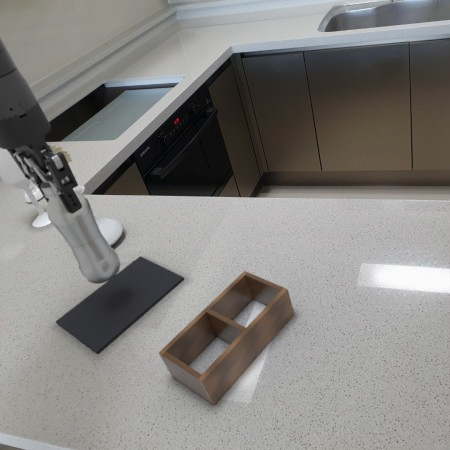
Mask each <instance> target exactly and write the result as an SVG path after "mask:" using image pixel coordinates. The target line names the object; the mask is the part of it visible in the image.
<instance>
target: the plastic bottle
mask: <svg viewBox="0 0 450 450" xmlns="http://www.w3.org/2000/svg"><path fill="white" fill-rule="evenodd" d="M54 182H55V181H54ZM62 183H65V182H64V181H63V179H62ZM40 187H41V189H42V191H43V192H44V195H45V197H46V198H49V202H48V203H47V208H46V212H47V214H48V219H49V220H50V221H51V224H52V225H53V226H54V228H55V229H56V230H57V231H58V232H59V234H60V235H61V236H62V237H63V239H64V240H65V241H66V244H68V246H69V248H70V249H71V251H72V253H73V255H74V257H75V260H76V262H77V265H78V268H79V270H80V273H81V275H82V276H83V278H85V280H86V281H87V282H89V283H92V284H96V285H97V284H105V283H106V282H107V281H109V280H110V279H112V278H113V277H114V276H115V275H116V274H118V273H119V272H120V267H121V261H120V257H119V255H118V254H117V252H116V251H115V250H114V248H113V247H112V246H110V245H109V244H108V242H107V241H106V239H105V238H104V236H103V235H102V233H101V231H100V229H99V227H98V225H97V223H96V221H95V218H94V216H95V215H94V213H93V209H92V207H91V206H92V205H91V204H90V202H89V200H88V198H87V197H86V196H85V195H84V196H83V195H82V194H80V193H78V192H76V191H74V192H75V194H76V195H77V197H78V199H79V201H80V202H81V204H82V208H81V209H80V210H78V211H76V212H75V213H73V214H71V213H69V212H67V210H66V208H65V207H64V205H63V203H62V202H61V200H60V198H59V197H58V195H57V193H56V192H55V190H54V189H53V188H52V187H51V185H50V184H49V183H44V182H43V183H42V184H41V186H40Z"/></svg>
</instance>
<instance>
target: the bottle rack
mask: <svg viewBox="0 0 450 450" xmlns="http://www.w3.org/2000/svg"><path fill="white" fill-rule="evenodd" d="M253 300H254V301H256V302H259V303H261V304H263V305H264V306H265V307H264V308H263V309H262V310H261V311H260V312H259V313H258V314H257V316H256V317H255V318H253V320H252V321H251V322H250V323H249V324H248V325H247V326H244V325H241V324H240V323H238V322H236V321H234V319H235V318H236V317H237V316H238V315H239V314H240V313H241V312H242V311H243V310H244V309H245V308H246V307H247V306H248V305H249V304H250V303H251V302H252V301H253ZM294 315H295V312H294V307H293V303H292V300H291V296H290V292H289V288H286V287H283V286H282V285H279V284H277V283H274V282H272V281H270V280H267V279H265V278H263V277H260V276H258V275H255V274H253V273H251V272H248V271H246V270H243V272H242V273H240V275H238V277H236V278H235V279H234V280H233V281H232V282H231V283H230V284H229V285H228V286H227V287H225V288H224V290H222V291H221V293H219V294H218V295H217V296H216V297H215V298H214V299H213V300H212V301H211V302H210V303H209V304H208V305H207V306H205V308H204V309H203V310H202V311H201V312H199V313H198V314H197V315H196V317H194V318H193V319H192V320H191V321H190V322H189V323H188V324H186V326H185V327H183V329H182V330H181V331H180V332H179V333H178V334H177V335H175V337H173V338H172V339H171V340H170V341H168V343H166V345H165V346H164V347H163V348H162V349H161V350H160V351H159V352H158V355H159V356H160V358H161V360H162V361H163V363H164V366H165V367H166V368H167V370H168V372H169V374H170V375H171V377H172V378H173V379H175V380H176V381H178V382H179V383H180V384H182V385H183V386H185V387H187V388H188V389H189V390H191V391H192V392H194V393H195V394H197V395H198V396H199V397H201V398H203V399H204V400H206V401H207V402H208V403H210V404H211V405H212V406H216V404H217V403H218V402H219V401H220V400H221V398H223V396H224V395H225V394H226V393H227V392H228V390H229V389H230V388H231V387H232V386H233V385H234V384H235V383H236V382H237V380H238V379H239V378H240V377H241V376H242V374H244V372H245V371H246V370H247V369H248V368H249V366H250V365H252V363H253V362H254V361H255V360H256V358H257V357H258V356H259V355H260V354H261V353H262V351H264V350H265V348H266V347H267V346H268V345H269V344H270V343H271V342H272V340H273V339H274V338H275V337H276V336H277V335H278V333H279V332H280V331H281V330H282V329H283V327H284V326H285V325H286V324H287V323H288V322H289V321H290V320H291V319H292V317H294ZM216 338H219V339H221V340H223V341H224V342H226V343H228V344H229V346H228V347H227V348H226V349H225V350H223V352H222V353H221V354H220V355H219V356H218V357H217V358H215V359H216V360H214V361H213V362H212V363H211V364H210V366H209V367H208V368H207V369H206V370H205V371H204V372H203V373H200V372H199V371H197V370H196V369H194V368H192V367H190V366H189V365H190V364H191V363H192V362H193V361H194V360H195V359H196V358H197V357H198V356H199V355H200V354H201V353H202V352H203V351H204V350H205V349H206V348H207V347H208V346H209V344H211V342H212V341H214V339H216Z"/></svg>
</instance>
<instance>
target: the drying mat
mask: <svg viewBox="0 0 450 450" xmlns="http://www.w3.org/2000/svg"><path fill="white" fill-rule="evenodd" d="M184 280H185V278H184V276H182V275H180V274H178V273H176V272H174V271H172V270H170V269H168V268H166V267H164V266H162V265H160V264H158V263H155V262H153V261H151V260H149V259H147V258H145V257H144V256H141V255H140V256H139V257H137V258H136V259H135V260H133V261H132V262H131V263H129V264H128V265H127V266H125V267H124V268H123V269H121V270H119V271H118V273H117V274H116V275H115V276H114V277H113V278H112V279H110V280H108V281H106V282H104V283H102V285H101V286H100V287H98V288H97V289H96V290H94V291H93V292H92V293H91V294H89V295H88V296H86V297H85V298H84V299H83V300H81V301H80V302H79V303H77V304H75V306H74V307H72V308H71V309H69V310H68V311H67V312H66V313H64V314H63V315H62V316H60V317H59V318H57V319H56V321H55V323H56V324H57V325H58V326H59V327H60V328H62V329H63V330H64V331H66V332H67V333H68V334H70V335H71V336H72V337H74V338H75V339H77V340H78V341H79V342H80V343H82V344H83V345H85V346H86V347H87V348H88V349H90V350H91V351H92V352H94V353H95V354H97V355H99V354H100V353H102V351H104V350H105V349H106V348H107V347H108V346H110V344H112V343H113V342H114V341H115V340H116V339H118V337H119V336H121V335H122V334H124V333H125V331H127V330H128V329H129V328H130V327H131V326H132V325H133V324H134V323H136V322H137V321H138V320H139V319H141V318H142V317H143V316H144V315H145V314H146V313H147V312H149V310H151V309H152V308H153V307H154V306H155V305H157V304H158V303H159V302H160V301H161V300H162V299H163V298H164V297H166V296H167V295H168V294H169V293H171V292H172V290H174V289H175V288H176V287H177V286H179V285H180V284H181V283H182V282H184Z"/></svg>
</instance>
